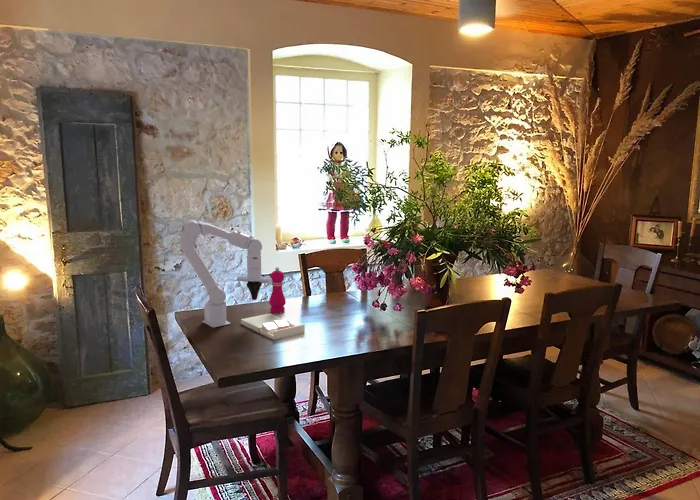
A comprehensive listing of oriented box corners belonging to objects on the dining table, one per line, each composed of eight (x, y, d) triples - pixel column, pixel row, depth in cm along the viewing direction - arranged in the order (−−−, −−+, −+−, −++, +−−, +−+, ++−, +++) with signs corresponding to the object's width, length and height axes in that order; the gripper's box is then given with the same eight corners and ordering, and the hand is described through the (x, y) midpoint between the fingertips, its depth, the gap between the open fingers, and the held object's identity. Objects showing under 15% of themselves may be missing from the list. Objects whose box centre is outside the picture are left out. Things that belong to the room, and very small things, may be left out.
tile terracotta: (273, 325, 223) (274, 321, 222) (283, 323, 226) (284, 319, 225) (278, 331, 220) (279, 326, 219) (288, 329, 222) (289, 325, 222)
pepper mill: (265, 312, 246) (265, 267, 243) (275, 308, 253) (275, 264, 249) (279, 314, 243) (279, 269, 240) (288, 310, 249) (288, 266, 246)
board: (241, 323, 230) (241, 319, 229) (270, 317, 239) (270, 313, 238) (258, 332, 219) (258, 327, 219) (288, 326, 228) (288, 321, 228)
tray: (259, 333, 219) (259, 324, 218) (289, 326, 228) (289, 318, 227) (274, 340, 211) (274, 331, 210) (304, 333, 220) (304, 324, 219)
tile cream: (261, 328, 219) (262, 323, 219) (271, 326, 222) (272, 321, 222) (267, 334, 216) (268, 329, 216) (277, 331, 219) (278, 327, 218)
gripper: (233, 267, 227) (234, 300, 230) (267, 270, 224) (267, 303, 227) (240, 264, 234) (241, 296, 237) (273, 266, 231) (273, 298, 234)
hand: (254, 299), depth 232 cm, fingers closed
